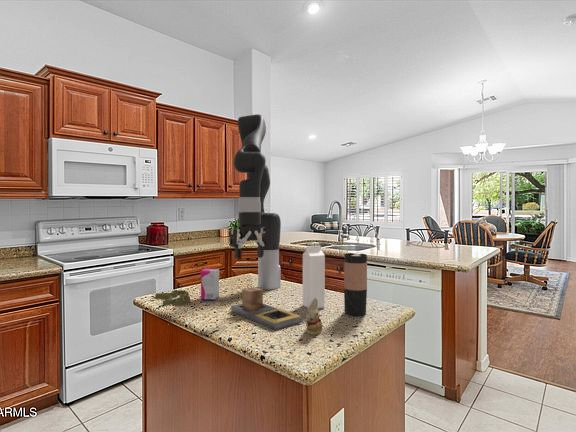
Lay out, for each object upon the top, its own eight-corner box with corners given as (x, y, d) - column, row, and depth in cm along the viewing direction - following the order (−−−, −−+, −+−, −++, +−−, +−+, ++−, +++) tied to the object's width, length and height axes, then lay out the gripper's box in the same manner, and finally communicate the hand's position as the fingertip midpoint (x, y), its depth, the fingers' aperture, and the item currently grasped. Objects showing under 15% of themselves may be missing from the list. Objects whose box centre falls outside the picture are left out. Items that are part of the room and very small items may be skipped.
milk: (324, 307, 126) (325, 246, 126) (309, 309, 124) (310, 247, 123) (316, 303, 132) (317, 244, 131) (302, 305, 129) (302, 245, 129)
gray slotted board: (254, 306, 128) (254, 300, 128) (300, 322, 110) (300, 315, 110) (231, 311, 121) (231, 305, 121) (275, 330, 103) (275, 322, 103)
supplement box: (219, 297, 141) (219, 268, 140) (215, 300, 135) (215, 271, 135) (205, 296, 141) (205, 268, 141) (200, 300, 135) (200, 270, 135)
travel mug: (353, 317, 115) (353, 256, 114) (339, 311, 121) (339, 253, 121) (371, 314, 118) (372, 255, 118) (357, 308, 125) (357, 252, 124)
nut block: (254, 309, 124) (254, 286, 124) (262, 312, 120) (262, 289, 120) (242, 312, 121) (242, 289, 120) (250, 315, 117) (250, 291, 117)
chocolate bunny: (298, 332, 101) (298, 298, 101) (314, 325, 107) (314, 293, 107) (313, 337, 98) (313, 301, 97) (329, 330, 103) (330, 296, 103)
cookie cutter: (153, 297, 141) (153, 292, 141) (183, 293, 148) (183, 288, 148) (164, 308, 126) (164, 303, 126) (197, 303, 132) (197, 298, 132)
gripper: (260, 210, 127) (260, 255, 127) (225, 210, 118) (225, 259, 118) (273, 210, 121) (273, 257, 122) (237, 211, 112) (237, 261, 112)
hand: (249, 258), depth 120 cm, fingers open, 8 cm apart
